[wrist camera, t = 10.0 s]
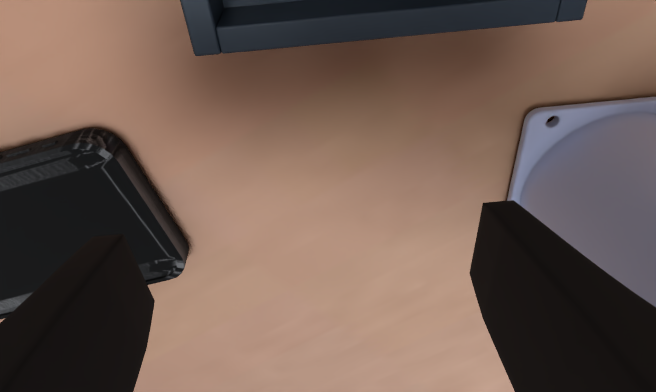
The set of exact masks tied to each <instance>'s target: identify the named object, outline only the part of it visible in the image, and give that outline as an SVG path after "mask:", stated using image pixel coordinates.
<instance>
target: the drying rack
mask: <svg viewBox="0 0 656 392" xmlns="http://www.w3.org/2000/svg"><path fill="white" fill-rule="evenodd" d="M180 1H181V5H182V9H183V13H184V17H185V21H186V24H187V28H188V32H189V36H190V40H191V43H192V47H193V51H194V54H195V56H204V55H214V54H220V53H221V52H222V53H223V54H225V53H236V52H246V51H257V50H267V49H278V48H288V47H299V46H309V45H320V44H330V43H341V42H351V41H361V40H372V39H382V38H393V37H403V36H414V35H424V34H435V33H445V32H456V31H466V30H477V29H487V28H498V27H508V26H519V25H529V24H539V23H550V22H555V21H556V22H562V21H573V20H581V19H582V18H583V15H584V11H585V7H586V3H587V0H180Z"/></svg>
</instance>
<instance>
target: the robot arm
mask: <svg viewBox="0 0 656 392" xmlns="http://www.w3.org/2000/svg"><path fill="white" fill-rule="evenodd" d="M552 116H555V117H554V119H553V120H552V121H551V122H548V123H546V122H547V120H548V119H549V118H550V117H552ZM470 276H471V280H472V283H473V287H474V290H475V294H476V297H477V300H478V304H479V307H480V310H481V313H482V317H483V319H484V322H485V324H486V326H487V329H488V331H489V333H490V336H491V338H492V340H493V343H494V345H495V347H496V350H497V352H498V354H499V357H500V359H501V361H502V363H503V366H504V368H505V370H506V372H507V375H508V377H509V379H510V381H511V384H512V386H513V388H514V391H515V392H656V97H645V98H635V99H624V100H614V101H604V102H593V103H583V104H572V105H562V106H551V107H541V108H536V109H533V110H532V111H530V112H529V113H528V114H527V115H526V117H525V120H524V124H523V129H522V133H521V138H520V143H519V147H518V152H517V156H516V161H515V166H514V170H513V175H512V179H511V184H510V189H509V193H508V198H507V201H500V202H488V203H483V206H482V211H481V217H480V222H479V227H478V232H477V238H476V243H475V248H474V253H473V259H472V264H471V269H470ZM153 308H154V298H153V296H152V294H151V292H150V290H149V288H148V286H147V283H146V281H145V279H144V277H143V275H142V273H141V270H140V268H139V266H138V264H137V262H136V260H135V257H134V255H133V253H132V251H131V249H130V247H129V245H128V242H127V240H126V238H125V236H124V234H118V235H106V236H95V237H92V238H91V239H90V240H89V241H88V242H86V243H85V244H84V245H83V246H82V247H81V248H80V249H79V250H77V251H76V252H75V253H74V254H73V255H72V256H71V257H70V258H69V259H68V260H67V261H66V262H65V263H64V264H63V265H61V266H60V267H59V268H58V269H57V270H56V271H55V272H54V273H53V274H52V275H51V276H50V277H49V278H48V279H47V280H46V281H45V282H44V283H43V284H42V285H41V286H40V287H38V288H37V289H36V290H35V291H34V292H33V293H32V294H31V295H30V296H29V297H28V298H27V299H26V300H25V301H24V302H22V303H21V304H20V305H19V306H18V307H17V308H16V309H15V310H14V311H13V312H12V313H11V314H10V315H9V316H8V317H6V318H5V319H4V320H3V321H2V322H1V323H0V392H133V391H134V387H135V384H136V381H137V378H138V374H139V371H140V368H141V365H142V361H143V358H144V355H145V351H146V348H147V343H148V337H149V332H150V327H151V320H152V314H153Z"/></svg>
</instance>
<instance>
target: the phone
mask: <svg viewBox="0 0 656 392" xmlns="http://www.w3.org/2000/svg"><path fill="white" fill-rule="evenodd" d="M118 234H124V236H125V238H126V240H127V242H128V245H129V247H130V249H131V251H132V253H133V255H134V257H135V260H136V262H137V264H138V266H139V268H140V270H141V273H142V275H143V277H144V279H145V281H146V283H147V285H149V284H153V283H158V282H162V281H166V280H170V279H173V278H176V277H177V276H179V275H180V274H181V273H182V271H183V270H184V267H185V263H186V260H187V256H188V251H189V246H188V244H187V241H186V240H185V238H184V236H183V235H182V233H181V232H180V230H179V229H178V227H177V225H176V224H175V222H174V221H173V219H172V218H171V216H170V214H169V213H168V211H167V210H166V208H165V207H164V205H163V203H162V202H161V200H160V199H159V197H158V196H157V194H156V192H155V191H154V189H153V188H152V186H151V185H150V183H149V181H148V180H147V178H146V177H145V175H144V174H143V172H142V170H141V169H140V167H139V166H138V164H137V163H136V161H135V159H134V158H133V156H132V155H131V153H130V152H129V150H128V148H127V147H126V146H125V144H124V143H123V142H122V141H121V140H120V139H119V138H117V137H116V136H115V135H113V134H112V133H109V132H107V131H104V130H101V129H94V128H91V129H83V130H79V131H76V132H72V133H68V134H65V135H61V136H58V137H54V138H50V139H47V140H43V141H40V142H36V143H33V144H29V145H25V146H22V147H18V148H15V149H11V150H7V151H4V152H0V319H3V318H6V317H8V316H9V315H10V314H11V313H12V312H13V311H14V310H15V309H16V308H17V307H18V306H19V305H20V304H21V303H22V302H24V301H25V300H26V299H27V298H28V297H29V296H30V295H31V294H32V293H33V292H34V291H35V290H36V289H37V288H38V287H40V286H41V285H42V284H43V283H44V282H45V281H46V280H47V279H48V278H49V277H50V276H51V275H52V274H53V273H54V272H55V271H56V270H57V269H58V268H59V267H60V266H61V265H63V264H64V263H65V262H66V261H67V260H68V259H69V258H70V257H71V256H72V255H73V254H74V253H75V252H76V251H77V250H79V249H80V248H81V247H82V246H83V245H84V244H85V243H86V242H88V241H89V240H90V239H91V238H92V237H95V236H106V235H118Z"/></svg>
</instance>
